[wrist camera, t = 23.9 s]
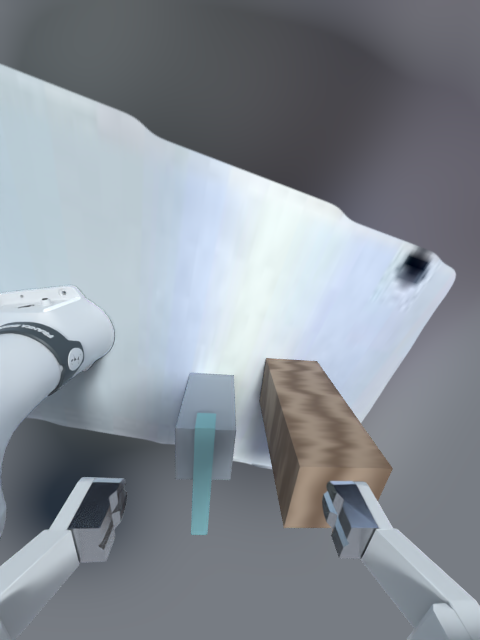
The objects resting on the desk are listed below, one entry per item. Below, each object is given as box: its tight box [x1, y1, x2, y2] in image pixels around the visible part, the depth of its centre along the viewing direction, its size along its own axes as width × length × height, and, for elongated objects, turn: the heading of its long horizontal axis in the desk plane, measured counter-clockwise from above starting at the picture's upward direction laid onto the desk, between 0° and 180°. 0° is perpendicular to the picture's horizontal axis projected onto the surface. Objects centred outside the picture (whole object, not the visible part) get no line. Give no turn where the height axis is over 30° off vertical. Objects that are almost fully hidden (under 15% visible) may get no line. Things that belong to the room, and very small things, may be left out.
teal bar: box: [191, 413, 216, 535], centre depth 40 cm, size 3×26×3 cm, turn 174°
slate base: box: [175, 373, 236, 480], centre depth 47 cm, size 10×12×16 cm
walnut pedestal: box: [260, 358, 392, 528], centre depth 42 cm, size 12×12×26 cm
